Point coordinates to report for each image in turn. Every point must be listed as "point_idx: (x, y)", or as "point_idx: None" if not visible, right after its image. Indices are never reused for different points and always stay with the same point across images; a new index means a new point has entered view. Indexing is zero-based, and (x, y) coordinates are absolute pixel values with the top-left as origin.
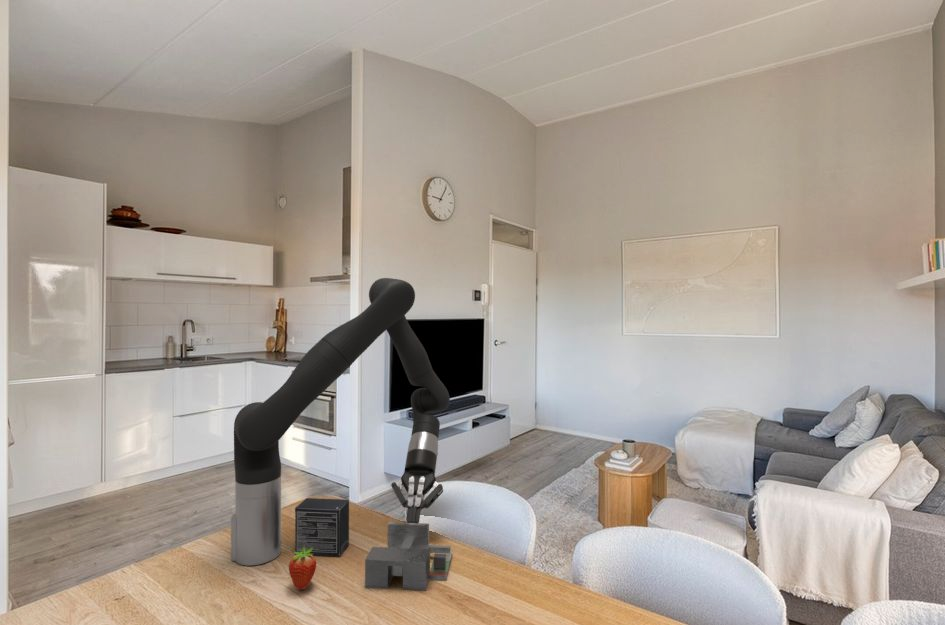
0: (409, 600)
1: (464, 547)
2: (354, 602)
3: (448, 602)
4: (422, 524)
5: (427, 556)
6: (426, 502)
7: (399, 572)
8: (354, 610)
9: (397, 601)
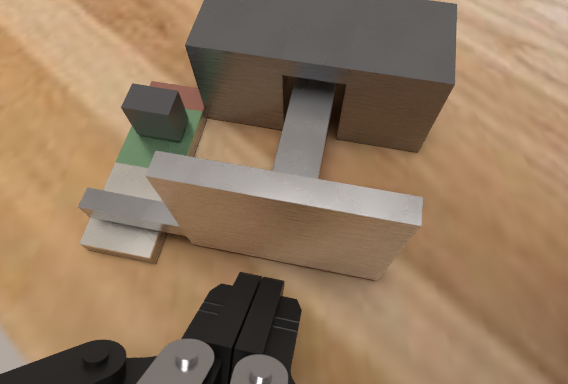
0: None
1: (9, 313)
2: None
3: (172, 10)
4: (190, 169)
5: (204, 3)
6: (90, 352)
7: None
8: None
9: None
